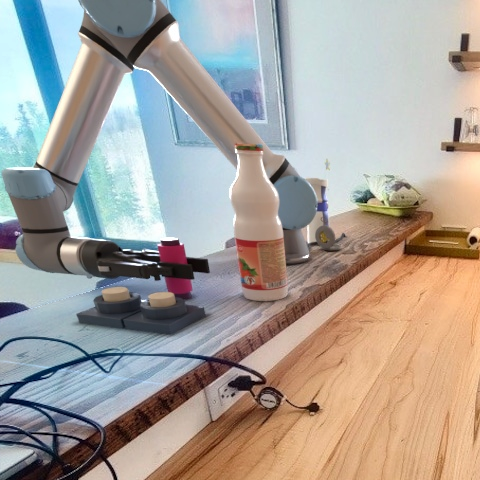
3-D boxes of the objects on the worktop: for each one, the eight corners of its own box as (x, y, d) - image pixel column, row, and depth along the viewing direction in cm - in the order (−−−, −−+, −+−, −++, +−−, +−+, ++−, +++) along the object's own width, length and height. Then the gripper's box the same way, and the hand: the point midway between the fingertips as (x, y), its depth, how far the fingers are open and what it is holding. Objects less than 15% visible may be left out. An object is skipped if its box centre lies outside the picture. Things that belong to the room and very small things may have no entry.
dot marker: (178, 293, 90) (166, 236, 84) (198, 295, 89) (187, 238, 83) (164, 299, 86) (150, 239, 80) (185, 302, 85) (172, 242, 79)
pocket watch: (340, 247, 139) (339, 214, 134) (343, 252, 132) (342, 218, 127) (314, 247, 137) (313, 213, 132) (316, 252, 130) (315, 217, 125)
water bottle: (317, 239, 149) (313, 157, 136) (336, 242, 145) (334, 158, 132) (300, 242, 142) (295, 156, 130) (320, 246, 139) (316, 158, 126)
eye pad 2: (160, 300, 76) (158, 290, 75) (181, 302, 75) (179, 293, 74) (145, 307, 73) (142, 297, 72) (166, 309, 72) (164, 299, 71)
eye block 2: (164, 310, 80) (160, 292, 79) (205, 315, 79) (202, 297, 77) (125, 329, 72) (119, 309, 70) (171, 334, 71) (166, 314, 69)
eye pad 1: (116, 295, 77) (113, 285, 76) (135, 297, 77) (133, 288, 76) (98, 301, 74) (95, 292, 73) (119, 304, 73) (116, 294, 72)
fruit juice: (287, 302, 88) (273, 145, 74) (240, 302, 86) (216, 142, 72) (289, 289, 96) (277, 145, 82) (246, 289, 94) (225, 142, 80)
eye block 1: (122, 305, 82) (117, 287, 80) (162, 310, 80) (157, 292, 79) (79, 323, 73) (72, 303, 71) (123, 328, 72) (117, 308, 70)
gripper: (131, 267, 96) (227, 277, 93) (65, 288, 81) (175, 300, 78) (122, 232, 92) (221, 241, 89) (50, 247, 77) (166, 258, 74)
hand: (199, 269), depth 83 cm, fingers closed on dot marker, 5 cm apart
